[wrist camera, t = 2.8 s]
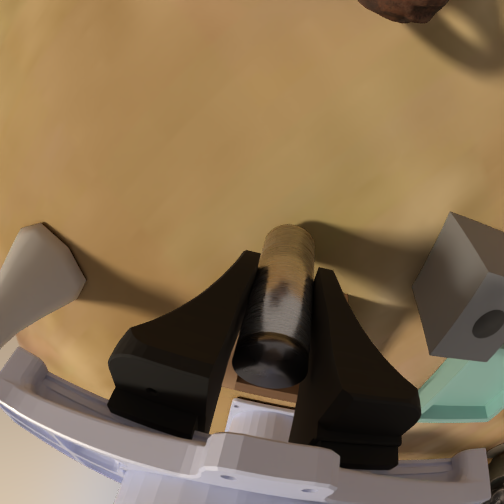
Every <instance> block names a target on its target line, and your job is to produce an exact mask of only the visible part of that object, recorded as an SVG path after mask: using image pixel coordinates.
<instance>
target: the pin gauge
mask: <svg viewBox="0 0 504 504" xmlns="http://www.w3.org/2000/svg"><path fill="white" fill-rule="evenodd" d="M314 255H315V244H314V240H313V238H312V236H311V235H310V234H309V233H308V232H307V231H306V230H305V229H303V228H301V227H299V226H296V225H290V224H287V225H281V226H278V227H276V228H274V229H272V230H271V231H270V232H269V233H268V235H267V236H266V239H265V242H264V246H263V250H262V253H261V257H260V261H259V265H258V269H257V273H256V276H255V280H254V284H253V287H252V290H251V293H250V297H249V300H248V304H247V308H246V311H245V315H244V318H243V322H242V326H241V329H240V333H239V336H238V340H237V343H236V347H235V351H234V354H233V358H232V367H233V369H234V371H235V372H236V373H237V375H239V376H240V377H241V378H242V379H244V380H245V381H247V382H249V383H251V384H254V385H256V386H260V387H264V388H272V389H280V388H288V387H292V386H294V385H297V384H299V383H300V382H302V381H303V380H304V379H305V377H306V376H307V373H308V364H309V351H310V337H311V321H312V304H313V283H314Z"/></svg>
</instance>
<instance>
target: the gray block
mask: <svg viewBox="0 0 504 504" xmlns="http://www.w3.org/2000/svg"><path fill="white" fill-rule="evenodd" d="M412 289H413V293H414V296H415V300H416V303H417V307H418V310H419V314H420V318H421V322H422V326H423V330H424V334H425V338H426V342H427V346H428V350H429V355H432V356H439V357H446V358H454V359H462V360H470V361H479V362H488V360H489V359H490V358H491V357H492V356H493V355H494V354H495V353H496V352H497V350H498V349H499V348H500V347H501V346H502V345H503V343H504V233H503V232H502V231H499V230H497V229H494V228H492V227H489V226H487V225H484V224H482V223H479V222H477V221H474V220H471V219H469V218H466V217H464V216H461V215H458V214H455V213H453V212H449V215H448V217H447V219H446V221H445V223H444V226H443V228H442V230H441V232H440V234H439V236H438V238H437V240H436V242H435V244H434V246H433V248H432V250H431V252H430V254H429V256H428V258H427V260H426V262H425V264H424V266H423V267H422V269H421V271H420V273H419V275H418V277H417V279H416V280H415V282H414V284H413V286H412Z"/></svg>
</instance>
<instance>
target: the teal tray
mask: <svg viewBox="0 0 504 504" xmlns="http://www.w3.org/2000/svg"><path fill="white" fill-rule="evenodd" d="M418 393H419V398H420V404H421V413H422V415H421V417H420V419H419V420H418V422H425V423H469V422H488V421H489V420H491V419H492V418H493V417H494V416H495V415H497V414H498V413H499V412H500V411H501V410H503V409H504V343H503V345H502V346H501V347H500V348H499V349H498V350H497V352H496V353H495V354H494V355H493V356H492V357H491V358H490V359H489V360H488V362H479V361H470V360H462V359H454V358H447V359H446V360H445V362H444V363H443V364H442V365H441V366H440V367H439V368H438V369H437V371H436V372H435V373H434V374H433V375H432V376H431V377H430V378H429V379H428V380H427V381H426V382H425V384H424V385H423V386H422V387H421V388H420V389H419V390H418Z"/></svg>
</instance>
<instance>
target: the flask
mask: <svg viewBox="0 0 504 504" xmlns="http://www.w3.org/2000/svg"><path fill="white" fill-rule="evenodd" d="M85 282H86V279H85V277H84V276H83V274H82V272H81V270H80V268H79V267H78V265H77V263H76V261H75V259H74V257H73V255H72V253H71V252H70V250H69V248H68V247H67V246H66V245H65V244H64V243H63V242H61V241H60V240H59V239H58V238H57V237H56V236H55V235H54V234H53V233H51V232H50V231H49V230H48V229H47V228H46V227H45V226H44V225H43V224H42V223H38V224H34V225H31V226H27V227H24V228H21V229H20V231H19V233H18V235H17V237H16V239H15V241H14V243H13V245H12V247H11V249H10V251H9V253H8V255H7V257H6V259H5V262H4V264H3V266H2V268H1V270H0V349H1V348H2V347H3V346H4V345H5V344H6V343H7V342H8V341H9V340H10V339H11V338H12V337H14V336H15V335H16V334H17V333H18V332H19V331H21V330H23V329H24V328H26V327H28V326H29V325H31V324H33V323H34V322H36V321H38V320H39V319H41V318H43V317H44V316H46V315H48V314H50V313H52V312H54V311H55V310H57V309H59V308H61V307H63V306H65V305H67V304H69V303H70V302H72V301H74V300H76V299H77V298H78V296H79V294H80V292H81V290H82V288H83V286H84V284H85Z"/></svg>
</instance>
